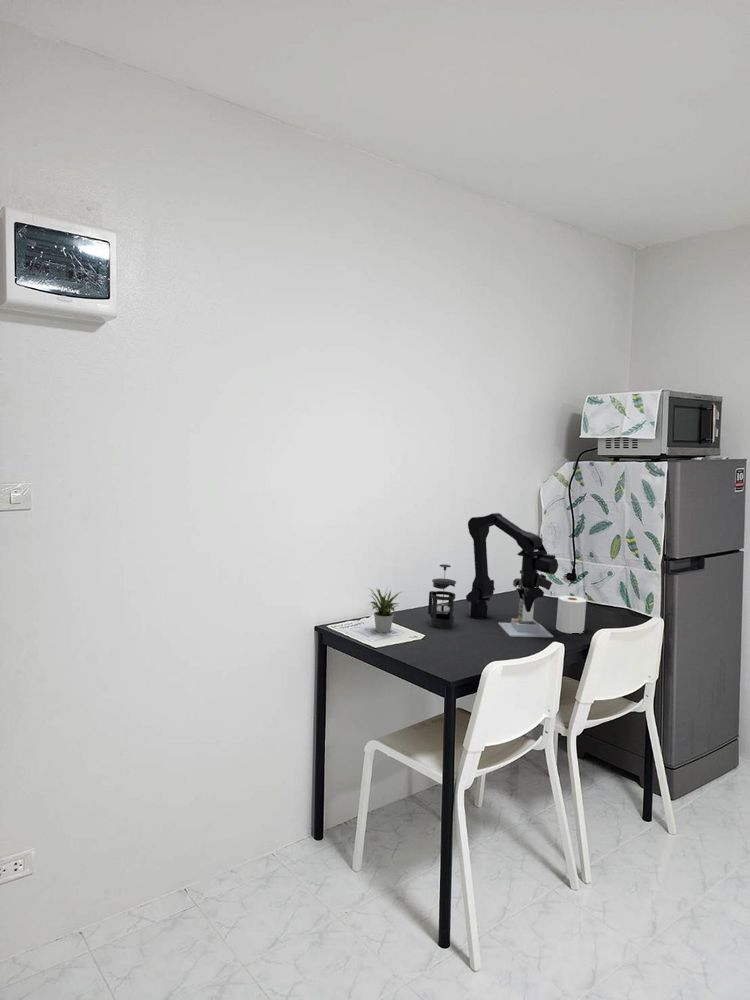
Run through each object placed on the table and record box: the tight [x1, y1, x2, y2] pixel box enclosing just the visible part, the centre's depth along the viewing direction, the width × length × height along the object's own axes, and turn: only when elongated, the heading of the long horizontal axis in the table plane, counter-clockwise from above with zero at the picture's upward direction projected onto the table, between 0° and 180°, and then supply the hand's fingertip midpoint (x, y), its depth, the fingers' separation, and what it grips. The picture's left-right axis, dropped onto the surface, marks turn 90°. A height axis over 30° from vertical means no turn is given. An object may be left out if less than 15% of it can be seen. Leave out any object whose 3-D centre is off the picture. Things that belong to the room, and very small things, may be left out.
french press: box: [427, 563, 457, 630], centre depth 265 cm, size 12×9×23 cm
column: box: [517, 598, 535, 621], centre depth 263 cm, size 5×4×8 cm
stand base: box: [498, 618, 554, 638], centre depth 263 cm, size 16×16×4 cm
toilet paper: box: [555, 595, 587, 634], centre depth 267 cm, size 10×10×12 cm
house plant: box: [367, 586, 403, 633], centre depth 254 cm, size 14×14×16 cm
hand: (526, 610), depth 263 cm, fingers closed on column, 4 cm apart
